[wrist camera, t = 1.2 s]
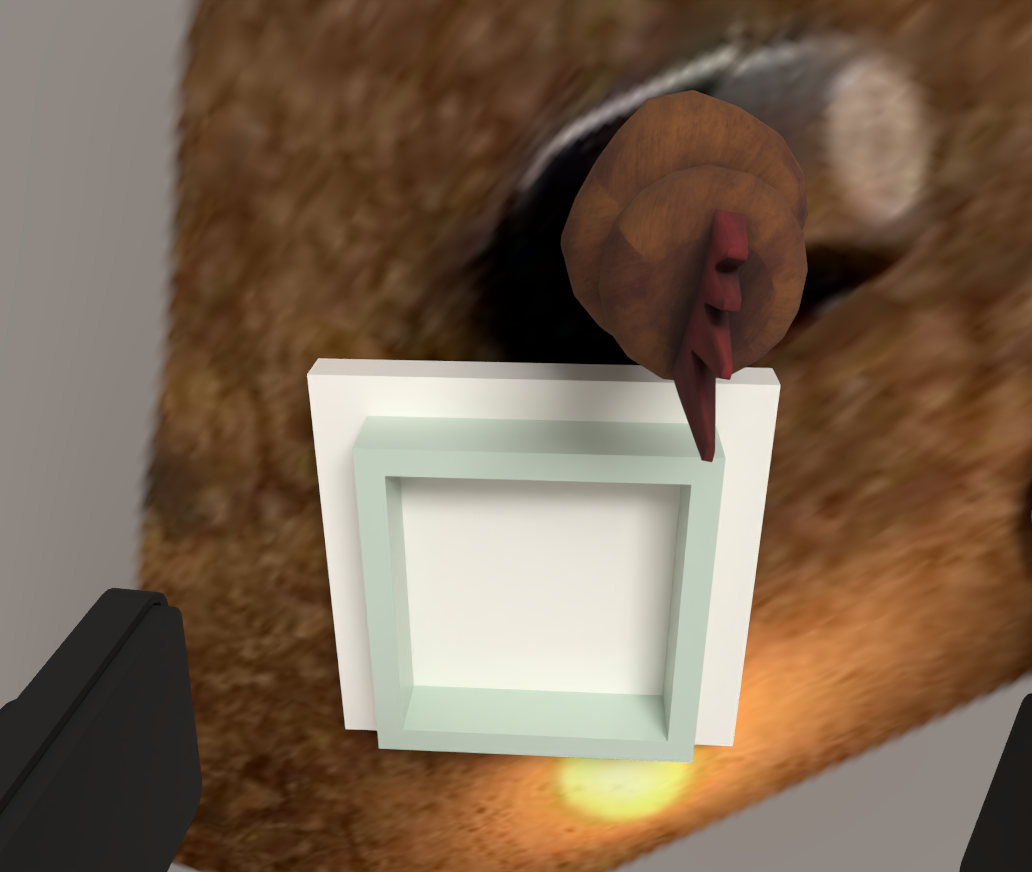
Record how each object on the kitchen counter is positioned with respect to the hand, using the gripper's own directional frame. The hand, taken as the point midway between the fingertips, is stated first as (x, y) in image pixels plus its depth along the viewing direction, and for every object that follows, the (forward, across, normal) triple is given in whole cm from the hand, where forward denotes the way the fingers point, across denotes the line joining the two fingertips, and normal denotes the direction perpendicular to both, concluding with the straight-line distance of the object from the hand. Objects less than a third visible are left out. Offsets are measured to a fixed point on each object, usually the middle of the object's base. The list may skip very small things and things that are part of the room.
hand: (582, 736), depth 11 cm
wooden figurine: (+23, -2, -2) cm, 23 cm away
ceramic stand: (+23, +1, +12) cm, 26 cm away
